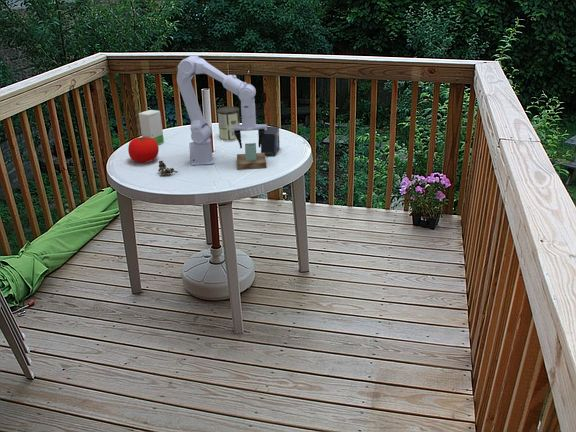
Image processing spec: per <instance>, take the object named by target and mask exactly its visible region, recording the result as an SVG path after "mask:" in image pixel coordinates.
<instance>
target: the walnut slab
mask: <svg viewBox="0 0 576 432" xmlns="http://www.w3.org/2000/svg"><path fill="white" fill-rule="evenodd" d="M256 155H257V160H253V161H246V155H245V153H237V154H236V167H237V171H238V170H241V171H242V170H255V169H267V160H266V159H267V157H266V156H265V153H261V152H256Z"/></svg>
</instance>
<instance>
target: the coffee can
mask: <svg viewBox="0 0 576 432" xmlns="http://www.w3.org/2000/svg"><path fill="white" fill-rule="evenodd" d="M216 112H217V121H218V132H219V140H220V139H221V140H220V141H222V140H223V141H222V142H235V140H236V141H238V140H237V138H236V136H235V134H234V132H232V129H231V126H237V125H241V121H240V108H239V107H237V106H223V107H220V108H217V109H216Z"/></svg>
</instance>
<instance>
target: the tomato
mask: <svg viewBox="0 0 576 432" xmlns="http://www.w3.org/2000/svg"><path fill="white" fill-rule="evenodd" d="M127 147H128V148H127V151H128V155H129V157H130V159H131V160H132V161H133V162H136V163H140V164H141V163H142V164H143V163H144V164H145V163H149V162H152V161H154V160H155V159H156V158H157V157H158V155H159V151H160V150H159V145H158V144H157V142H156V140H155V139H153V138H149V137H142V136H139V137H135V138H133V139H131V140H130V141H129V143H128V146H127Z"/></svg>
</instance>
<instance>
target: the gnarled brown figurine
mask: <svg viewBox="0 0 576 432" xmlns="http://www.w3.org/2000/svg"><path fill="white" fill-rule="evenodd" d="M174 169H175V168H173V167H167V165H166V164H165V162H164V161H163V160H159V161H158V170H157V172H158V173H159V177H168V176H169V175H170V176H172V175H173V173H174V174H176V173H178V171H176V170H174Z"/></svg>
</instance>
